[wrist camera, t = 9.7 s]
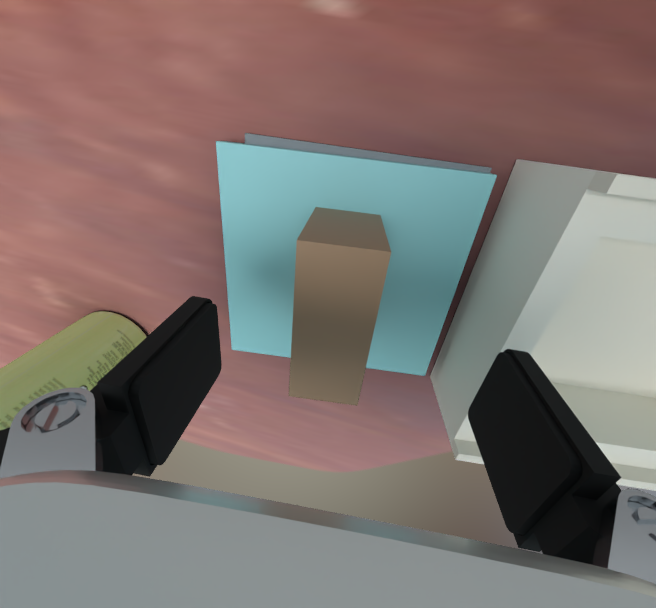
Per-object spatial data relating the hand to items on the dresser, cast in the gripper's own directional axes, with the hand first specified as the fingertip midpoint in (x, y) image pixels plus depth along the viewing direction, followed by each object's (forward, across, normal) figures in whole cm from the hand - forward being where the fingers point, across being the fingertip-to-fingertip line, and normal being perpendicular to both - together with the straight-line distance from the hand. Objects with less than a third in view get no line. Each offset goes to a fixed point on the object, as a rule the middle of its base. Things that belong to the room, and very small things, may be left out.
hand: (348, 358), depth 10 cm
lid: (+7, +1, 0) cm, 7 cm away
